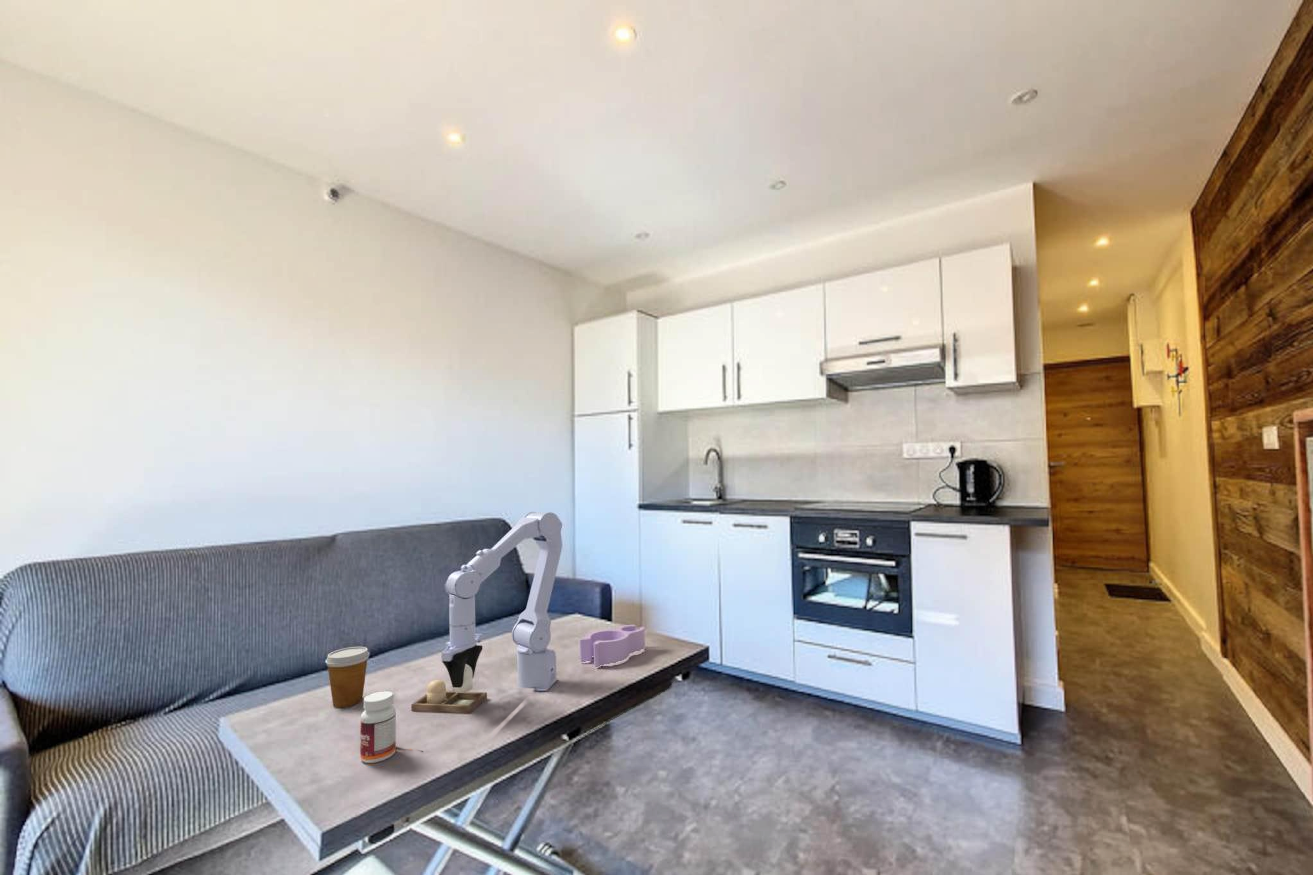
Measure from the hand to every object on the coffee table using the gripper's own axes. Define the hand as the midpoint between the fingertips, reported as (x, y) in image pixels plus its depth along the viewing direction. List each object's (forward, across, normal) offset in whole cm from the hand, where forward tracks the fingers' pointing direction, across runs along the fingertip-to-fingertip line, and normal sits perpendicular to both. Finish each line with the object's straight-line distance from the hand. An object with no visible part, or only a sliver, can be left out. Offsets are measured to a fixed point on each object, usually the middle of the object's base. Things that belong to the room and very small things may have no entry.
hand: (463, 682), depth 127 cm
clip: (+6, -38, +27) cm, 46 cm away
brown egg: (+5, 0, -7) cm, 9 cm away
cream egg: (+1, 0, 0) cm, 1 cm away
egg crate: (+6, 0, -3) cm, 7 cm away
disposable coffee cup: (+6, -1, -31) cm, 32 cm away
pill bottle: (+6, +22, -5) cm, 23 cm away
